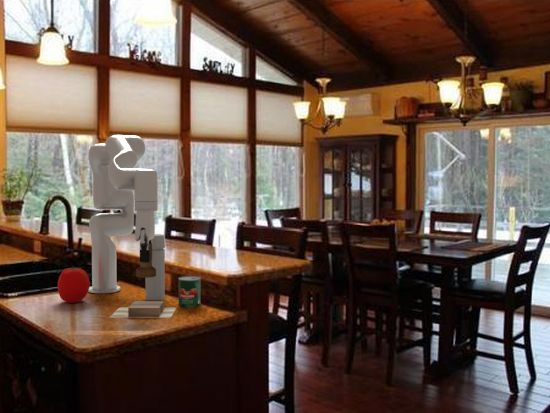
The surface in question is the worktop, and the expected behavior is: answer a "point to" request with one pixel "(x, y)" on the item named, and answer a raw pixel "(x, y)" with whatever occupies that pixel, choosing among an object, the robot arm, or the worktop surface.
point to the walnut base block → (146, 309)
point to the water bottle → (157, 270)
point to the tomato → (73, 285)
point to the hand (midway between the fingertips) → (146, 260)
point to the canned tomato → (189, 291)
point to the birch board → (123, 313)
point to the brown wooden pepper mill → (146, 267)
